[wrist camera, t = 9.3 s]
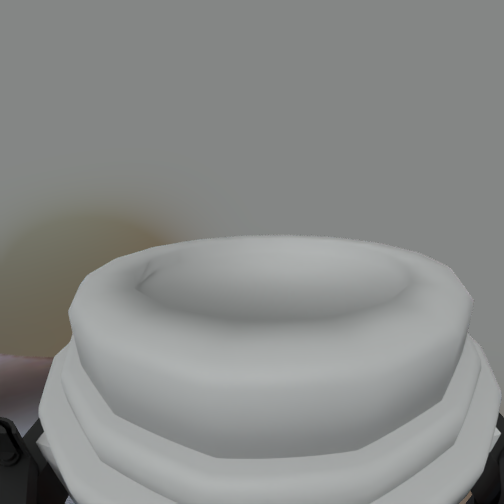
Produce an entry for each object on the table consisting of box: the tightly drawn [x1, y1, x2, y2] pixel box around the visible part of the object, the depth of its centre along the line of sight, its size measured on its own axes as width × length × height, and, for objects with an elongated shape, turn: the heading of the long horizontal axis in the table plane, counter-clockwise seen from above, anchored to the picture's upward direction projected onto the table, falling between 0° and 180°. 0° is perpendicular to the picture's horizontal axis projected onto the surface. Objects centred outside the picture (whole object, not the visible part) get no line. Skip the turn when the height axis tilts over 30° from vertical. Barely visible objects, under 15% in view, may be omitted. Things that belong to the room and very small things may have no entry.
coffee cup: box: [39, 235, 501, 504], centre depth 7 cm, size 9×9×12 cm
